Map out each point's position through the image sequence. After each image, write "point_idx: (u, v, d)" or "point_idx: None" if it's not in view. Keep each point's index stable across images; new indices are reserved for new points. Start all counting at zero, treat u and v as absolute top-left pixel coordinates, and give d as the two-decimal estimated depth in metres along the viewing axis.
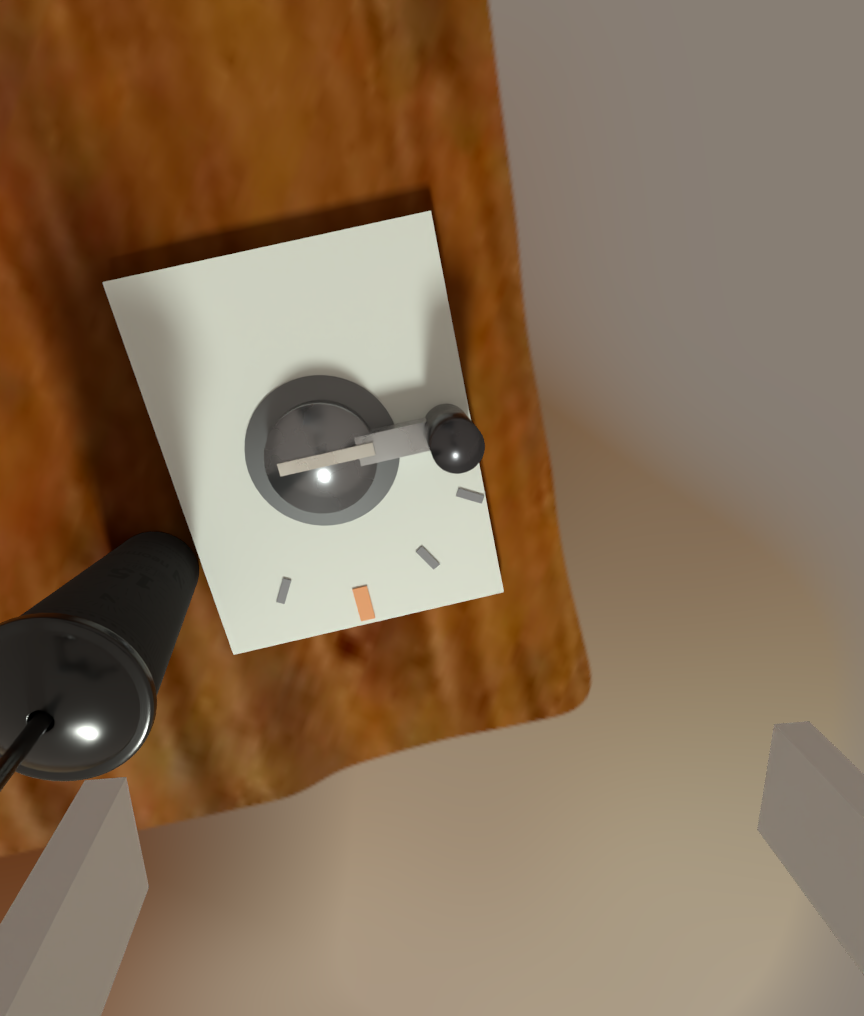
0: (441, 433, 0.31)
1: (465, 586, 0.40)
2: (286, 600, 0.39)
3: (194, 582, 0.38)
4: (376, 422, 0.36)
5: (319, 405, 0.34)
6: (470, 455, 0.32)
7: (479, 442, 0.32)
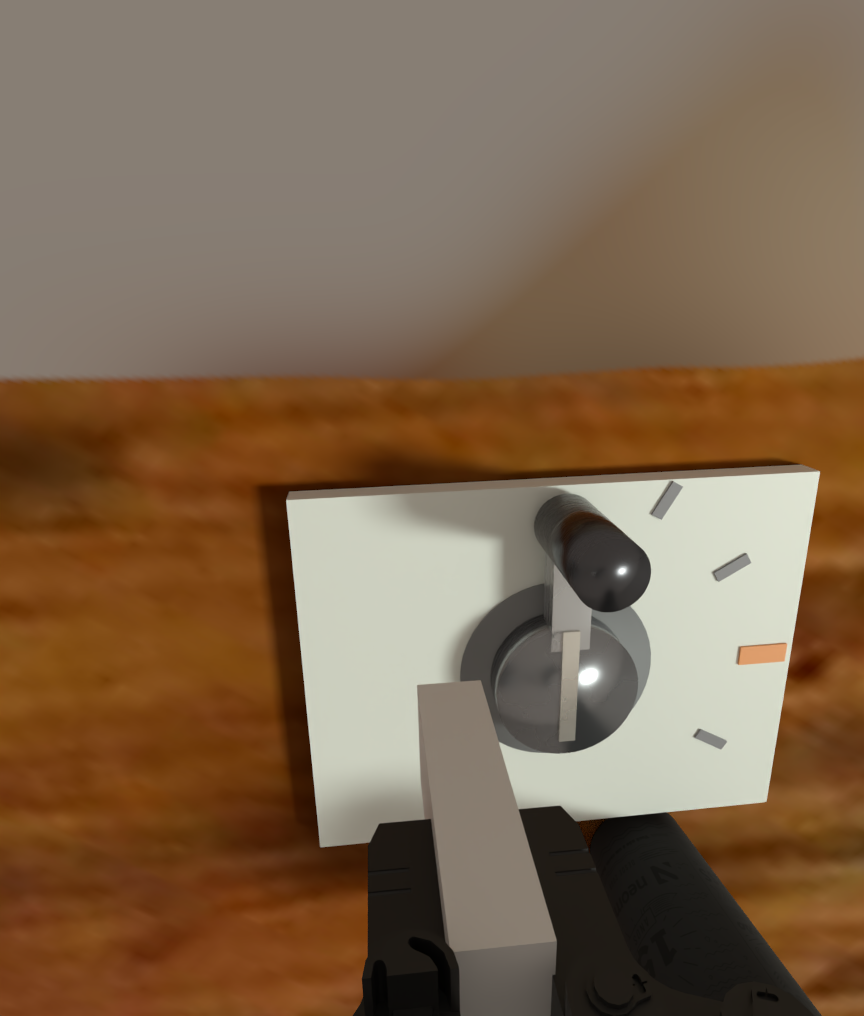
0: (586, 595, 0.22)
1: (791, 524, 0.28)
2: (723, 738, 0.31)
3: (666, 829, 0.32)
4: (536, 605, 0.28)
5: (501, 684, 0.27)
6: (629, 560, 0.21)
7: (614, 545, 0.21)
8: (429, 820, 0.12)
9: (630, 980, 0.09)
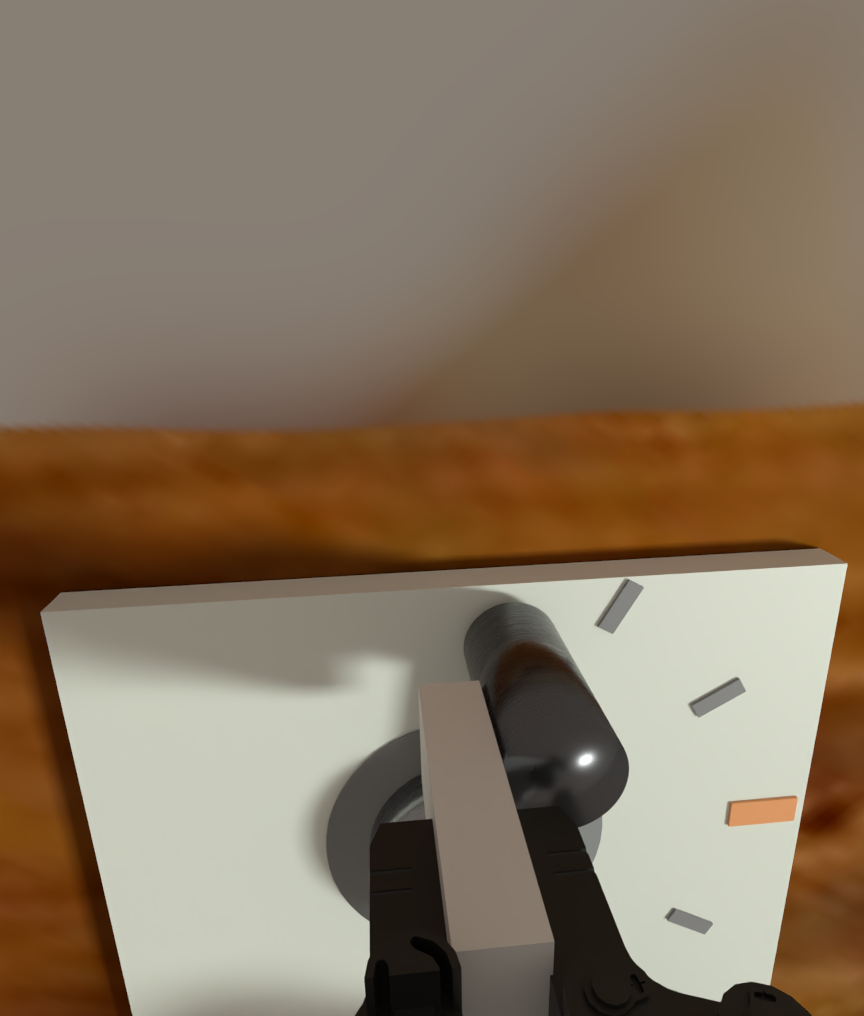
0: (516, 801, 0.13)
1: (803, 636, 0.19)
2: (707, 919, 0.22)
3: None
4: None
5: None
6: (596, 757, 0.13)
7: (575, 731, 0.13)
8: (430, 820, 0.12)
9: (628, 980, 0.09)
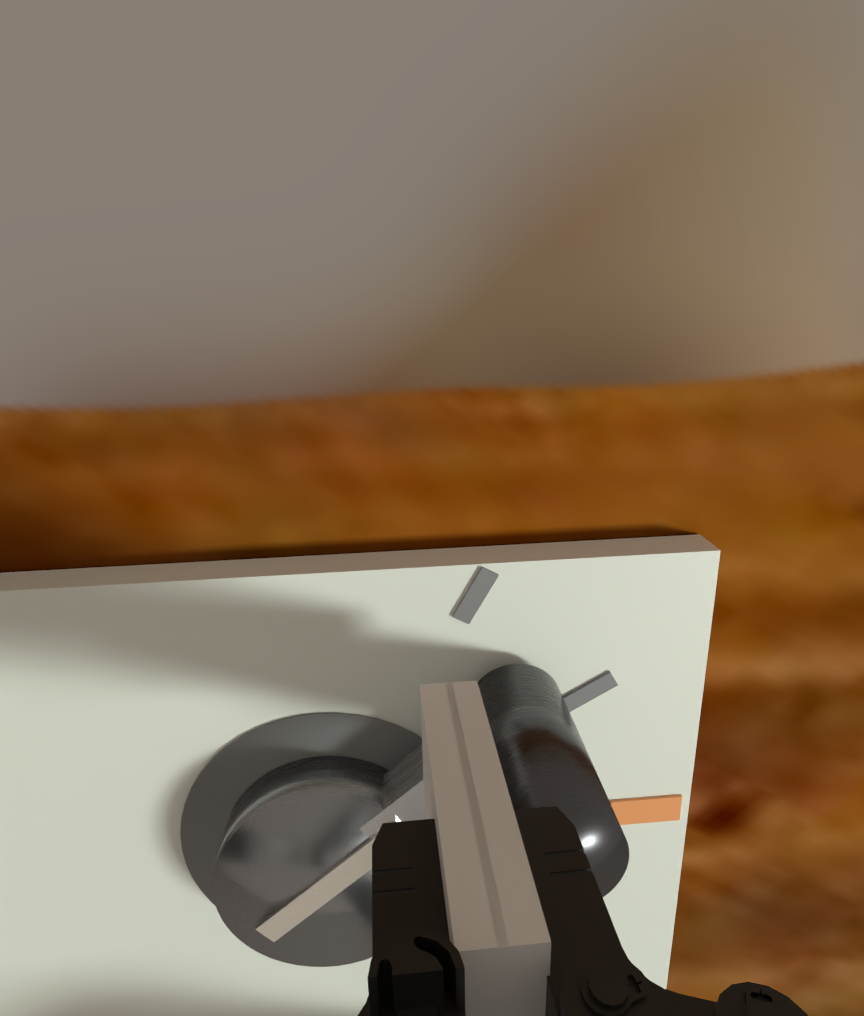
0: None
1: (678, 628, 0.18)
2: None
3: None
4: (284, 748, 0.18)
5: (266, 813, 0.17)
6: (602, 862, 0.13)
7: (607, 831, 0.13)
8: (433, 819, 0.12)
9: (625, 980, 0.09)
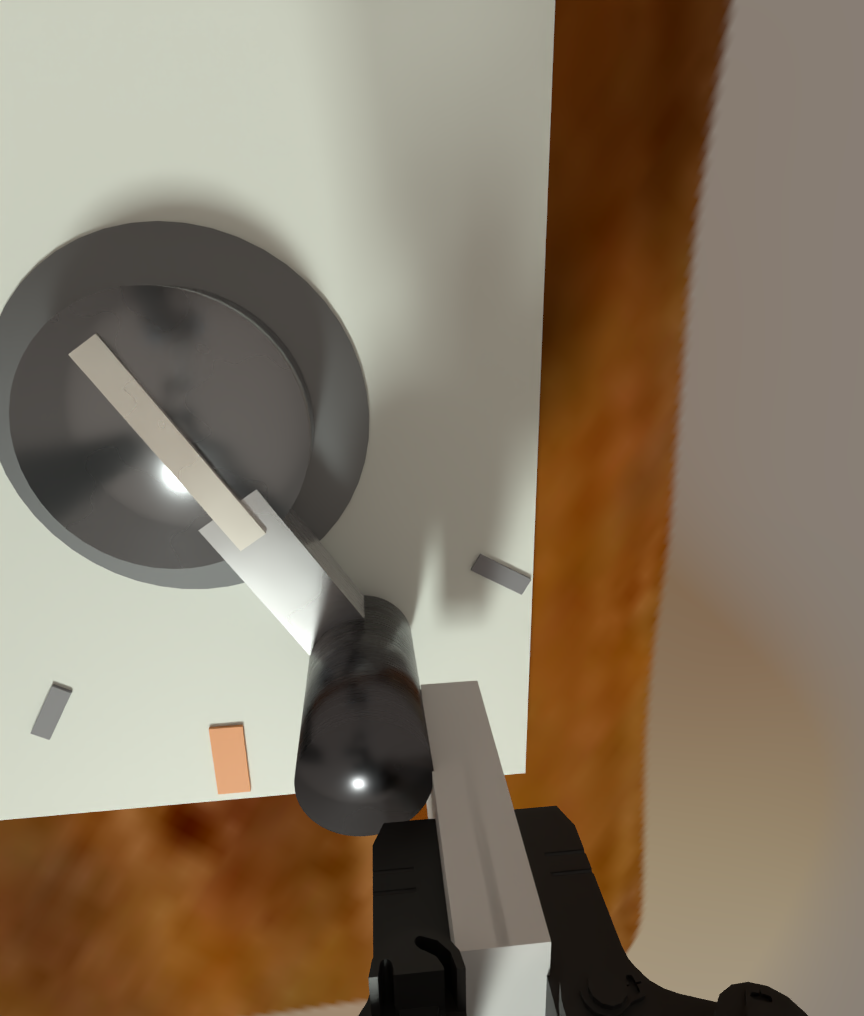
0: (383, 734, 0.12)
1: None
2: (55, 731, 0.18)
3: None
4: (323, 373, 0.15)
5: (294, 384, 0.14)
6: (358, 812, 0.12)
7: (398, 815, 0.13)
8: (434, 820, 0.12)
9: (624, 981, 0.09)
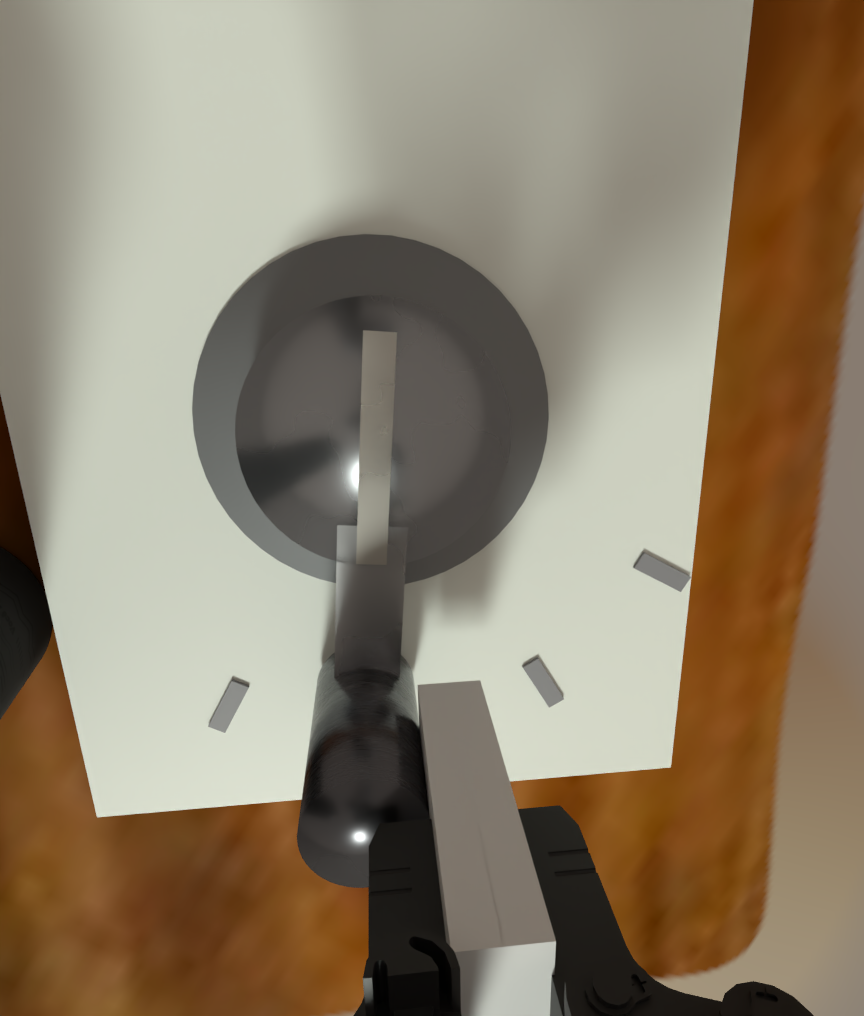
0: (411, 808, 0.13)
1: (600, 747, 0.20)
2: (229, 725, 0.18)
3: (27, 664, 0.17)
4: (508, 378, 0.16)
5: (501, 474, 0.15)
6: (337, 857, 0.13)
7: (363, 877, 0.13)
8: (430, 820, 0.12)
9: (629, 980, 0.09)
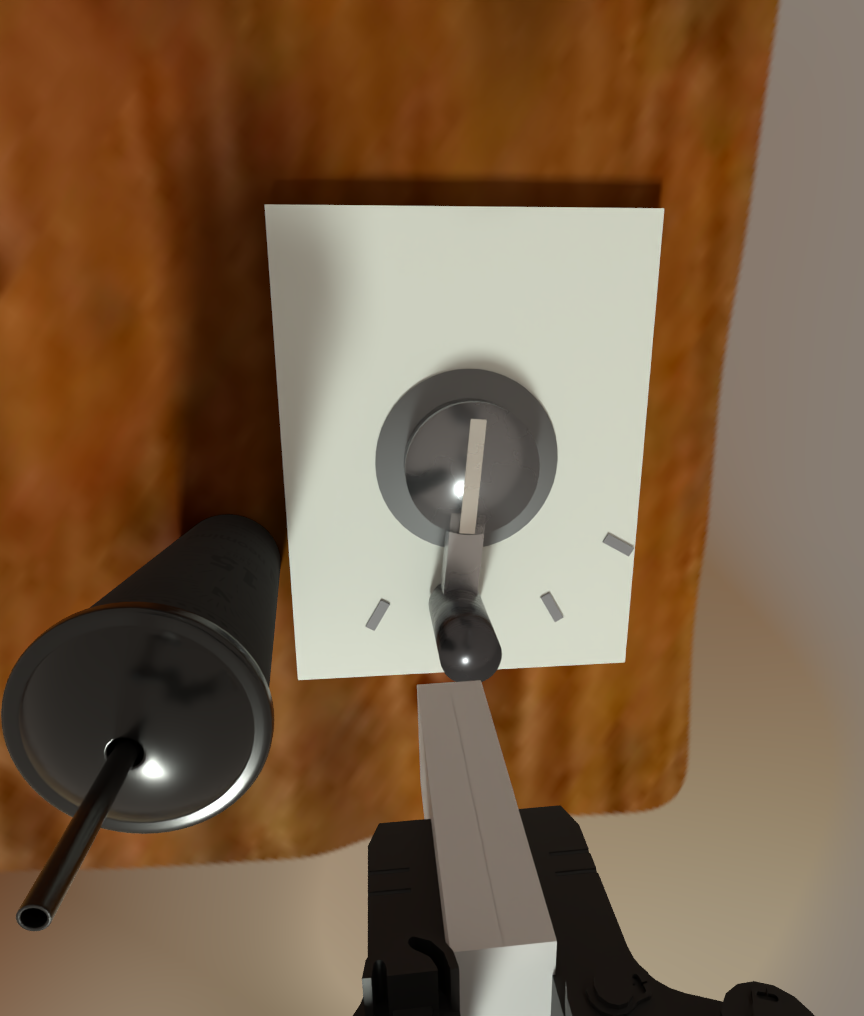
0: (493, 643, 0.27)
1: (583, 648, 0.34)
2: (376, 626, 0.33)
3: None
4: (537, 439, 0.31)
5: (534, 489, 0.29)
6: (457, 667, 0.27)
7: (468, 679, 0.27)
8: (429, 820, 0.12)
9: (630, 980, 0.09)
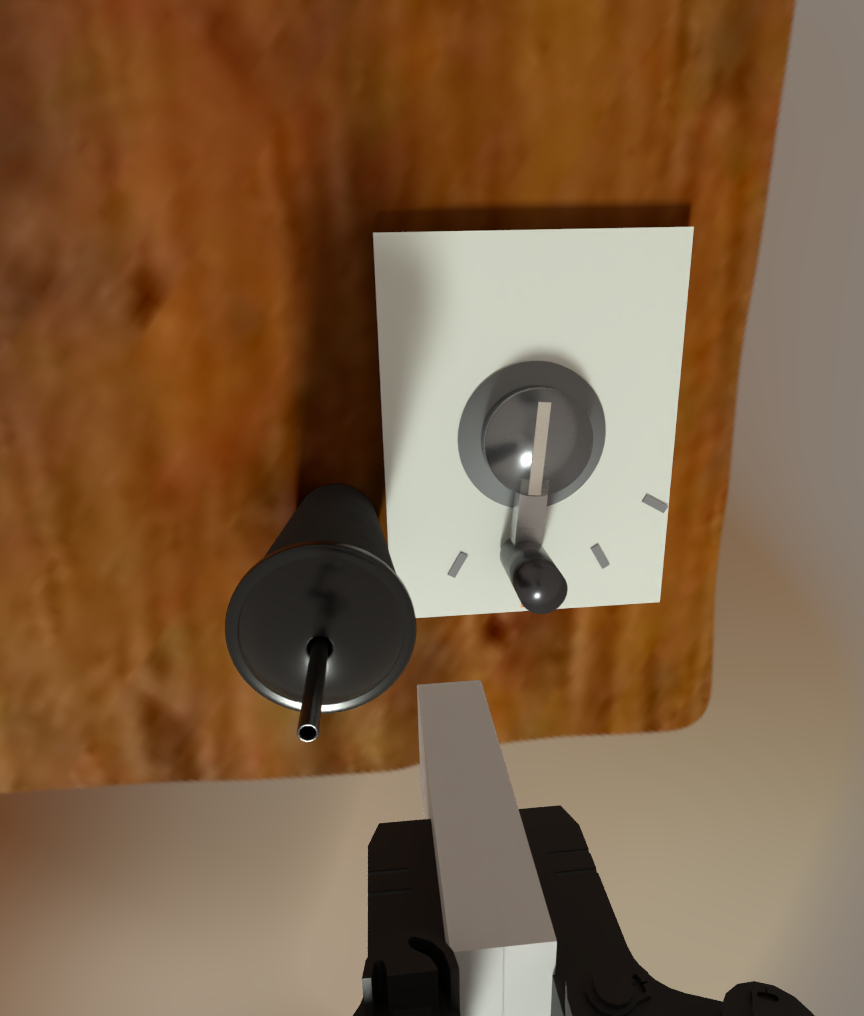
0: (560, 580, 0.34)
1: (625, 590, 0.41)
2: (456, 574, 0.40)
3: None
4: (589, 417, 0.37)
5: (588, 458, 0.36)
6: (532, 600, 0.34)
7: (540, 609, 0.35)
8: (429, 820, 0.12)
9: (630, 980, 0.09)
